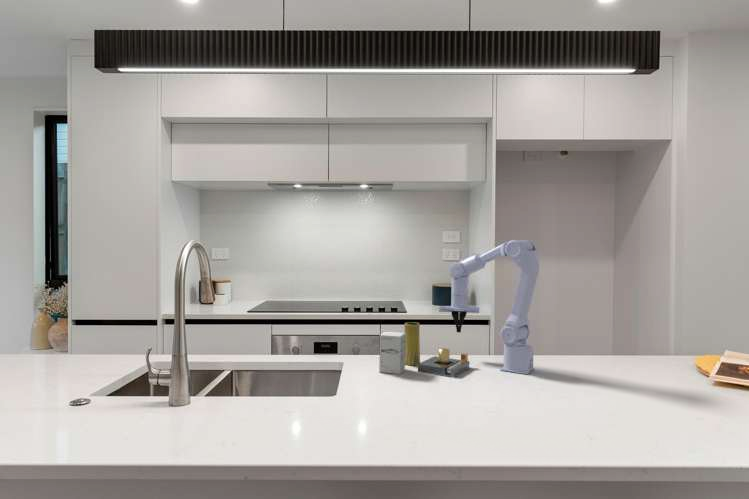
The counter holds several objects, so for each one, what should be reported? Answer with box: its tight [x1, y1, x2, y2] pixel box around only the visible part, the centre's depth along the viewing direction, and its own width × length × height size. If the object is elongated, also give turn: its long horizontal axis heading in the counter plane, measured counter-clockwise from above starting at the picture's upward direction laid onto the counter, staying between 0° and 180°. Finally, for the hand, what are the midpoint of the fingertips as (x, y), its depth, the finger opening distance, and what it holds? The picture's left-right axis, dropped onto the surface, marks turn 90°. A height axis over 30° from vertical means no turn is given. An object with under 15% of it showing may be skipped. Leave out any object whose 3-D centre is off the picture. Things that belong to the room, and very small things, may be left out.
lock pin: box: [447, 353, 469, 373], centre depth 171 cm, size 2×14×4 cm, turn 148°
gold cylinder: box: [438, 347, 450, 365], centre depth 173 cm, size 4×4×7 cm
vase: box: [404, 321, 421, 367], centre depth 181 cm, size 6×6×14 cm
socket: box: [417, 355, 470, 378], centre depth 173 cm, size 13×13×2 cm
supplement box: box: [378, 331, 406, 375], centre depth 171 cm, size 7×7×13 cm
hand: (458, 331), depth 188 cm, fingers closed
